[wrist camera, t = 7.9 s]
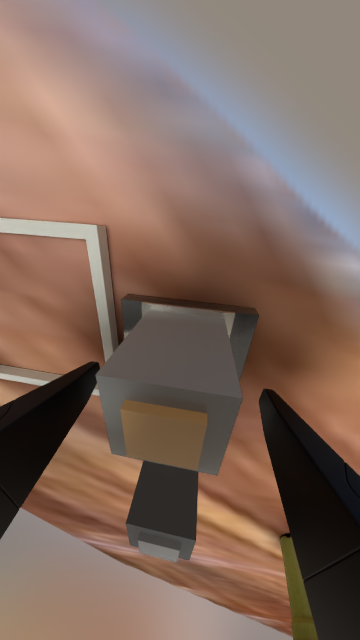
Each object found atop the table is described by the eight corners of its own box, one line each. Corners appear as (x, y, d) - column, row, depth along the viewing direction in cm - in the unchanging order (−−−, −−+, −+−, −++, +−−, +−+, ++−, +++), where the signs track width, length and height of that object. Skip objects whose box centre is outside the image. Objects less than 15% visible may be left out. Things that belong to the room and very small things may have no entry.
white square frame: (123, 390, 17) (119, 399, 16) (-5, 369, 19) (-15, 375, 18) (105, 226, 11) (96, 225, 10) (-89, 211, 12) (-112, 209, 11)
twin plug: (193, 470, 19) (188, 569, 13) (151, 461, 20) (128, 553, 14) (199, 445, 17) (195, 550, 11) (150, 435, 17) (123, 532, 12)
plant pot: (332, 555, 27) (382, 681, 20) (268, 546, 29) (291, 657, 22) (341, 532, 24) (407, 676, 16) (268, 524, 26) (294, 648, 18)
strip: (210, 461, 20) (211, 476, 19) (138, 447, 21) (134, 460, 20) (254, 308, 12) (260, 316, 10) (128, 294, 12) (119, 300, 11)
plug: (212, 377, 13) (218, 487, 7) (149, 368, 13) (107, 463, 8) (224, 318, 11) (245, 409, 5) (148, 309, 11) (88, 383, 6)
